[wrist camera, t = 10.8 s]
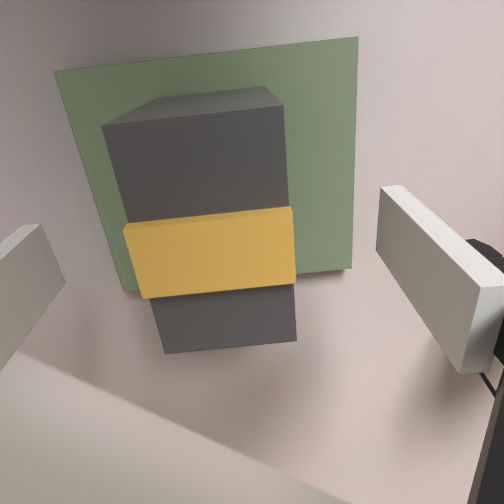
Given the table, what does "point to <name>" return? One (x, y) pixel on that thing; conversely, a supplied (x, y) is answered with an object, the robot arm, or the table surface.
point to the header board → (231, 78)
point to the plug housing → (209, 216)
